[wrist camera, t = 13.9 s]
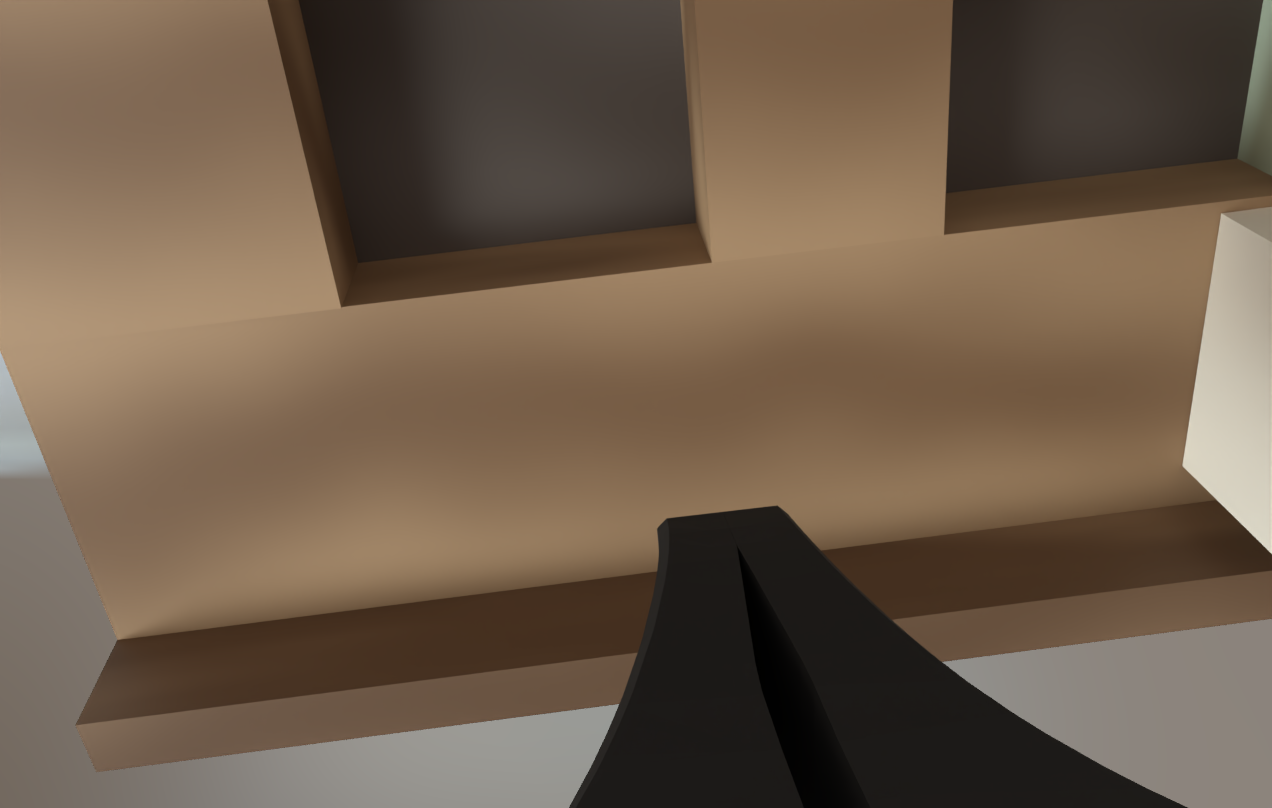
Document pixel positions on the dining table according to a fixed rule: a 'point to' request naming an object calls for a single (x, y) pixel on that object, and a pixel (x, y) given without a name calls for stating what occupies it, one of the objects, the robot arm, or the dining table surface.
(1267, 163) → the trap board
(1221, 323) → the cream block
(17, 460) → the dining table surface
